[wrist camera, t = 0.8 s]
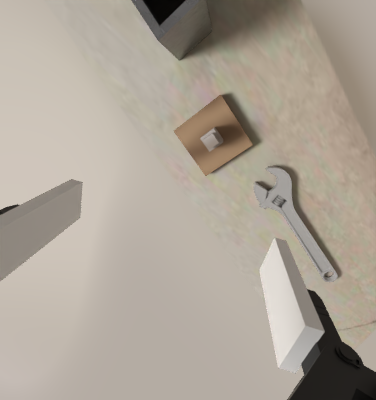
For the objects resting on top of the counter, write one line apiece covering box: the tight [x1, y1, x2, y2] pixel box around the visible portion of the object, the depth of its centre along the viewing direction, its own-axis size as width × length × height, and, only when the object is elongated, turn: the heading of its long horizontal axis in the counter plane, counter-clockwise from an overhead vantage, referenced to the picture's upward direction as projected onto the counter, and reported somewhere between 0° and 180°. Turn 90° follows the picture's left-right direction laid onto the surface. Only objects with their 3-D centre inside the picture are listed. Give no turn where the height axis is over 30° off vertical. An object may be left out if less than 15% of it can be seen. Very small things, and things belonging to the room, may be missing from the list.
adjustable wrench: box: [253, 166, 338, 282], centre depth 43 cm, size 25×6×2 cm, turn 32°
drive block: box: [174, 95, 253, 176], centre depth 37 cm, size 9×9×6 cm
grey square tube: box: [132, 0, 212, 60], centre depth 29 cm, size 6×6×12 cm
